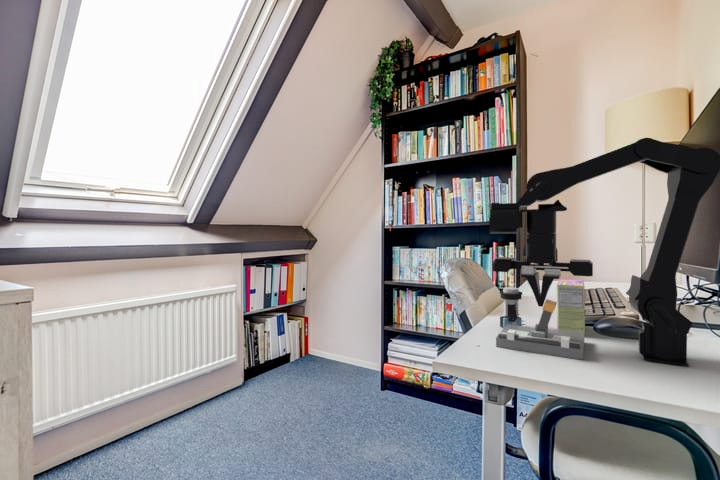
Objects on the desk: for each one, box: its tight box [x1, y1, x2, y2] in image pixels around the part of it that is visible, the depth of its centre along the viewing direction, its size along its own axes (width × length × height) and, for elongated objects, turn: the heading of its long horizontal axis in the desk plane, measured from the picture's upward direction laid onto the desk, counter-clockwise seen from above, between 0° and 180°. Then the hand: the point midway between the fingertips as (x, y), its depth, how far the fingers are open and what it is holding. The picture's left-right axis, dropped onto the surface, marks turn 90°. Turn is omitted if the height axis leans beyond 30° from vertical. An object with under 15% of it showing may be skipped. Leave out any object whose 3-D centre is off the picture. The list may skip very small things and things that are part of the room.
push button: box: [499, 286, 527, 329], centre depth 93 cm, size 7×5×10 cm
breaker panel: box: [495, 323, 585, 361], centre depth 80 cm, size 16×12×4 cm
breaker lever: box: [536, 298, 557, 332], centre depth 78 cm, size 2×4×7 cm, turn 148°
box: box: [556, 279, 586, 337], centre depth 90 cm, size 10×6×12 cm, turn 149°
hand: (540, 306), depth 79 cm, fingers closed
